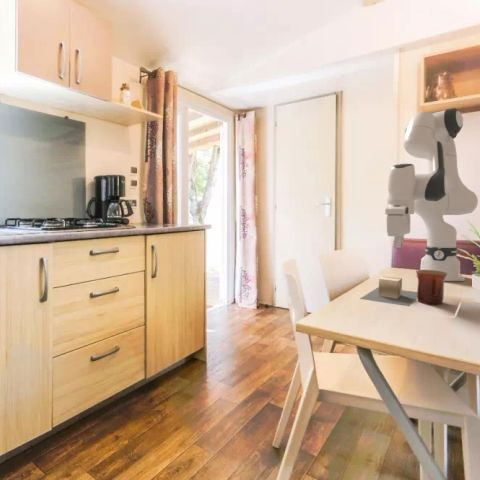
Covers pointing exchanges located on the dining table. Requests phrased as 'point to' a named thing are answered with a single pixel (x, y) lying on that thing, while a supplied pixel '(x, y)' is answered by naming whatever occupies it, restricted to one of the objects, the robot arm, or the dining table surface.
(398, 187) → the robot arm
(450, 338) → the dining table surface
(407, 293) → the mat
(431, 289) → the mug
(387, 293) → the letter block
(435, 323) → the dining table surface
